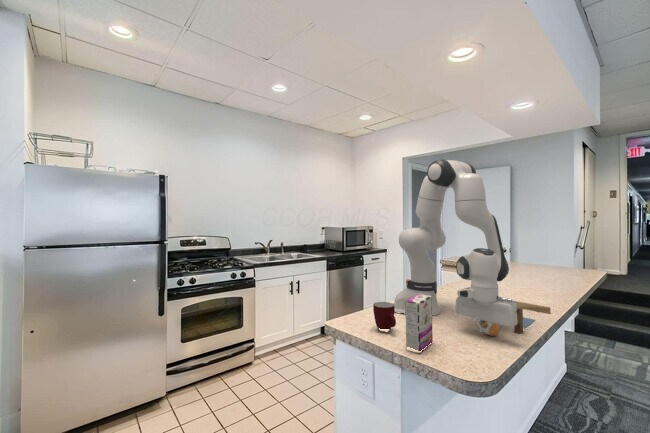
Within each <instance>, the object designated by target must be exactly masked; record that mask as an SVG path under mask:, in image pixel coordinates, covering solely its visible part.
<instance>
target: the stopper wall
mask: <svg viewBox="0 0 650 433" xmlns="http://www.w3.org/2000/svg"><path fill="white" fill-rule="evenodd" d="M514 301H515V302H516V304H517V307H521V308H523V310H528V311H533V312H538V313H543V314H549V315H550V314H551V306H546V305H539V304H533V303H528V302H522V301H517V300H514Z"/></svg>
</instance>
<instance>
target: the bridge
mask: <svg viewBox="0 0 650 433" xmlns="http://www.w3.org/2000/svg"><path fill="white" fill-rule="evenodd" d="M523 310H524V309H523V308H521V307H517V311H516V313H517V320H518V323H517V325H516V326H514V328H513V332H514V334H517V335H521V334H523V333H524V327H523V317H524V313H523V312H524V311H523ZM484 322H485V321H482V324H483V323H484Z"/></svg>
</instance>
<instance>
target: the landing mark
mask: <svg viewBox="0 0 650 433" xmlns="http://www.w3.org/2000/svg"><path fill="white" fill-rule="evenodd" d="M534 322H536V319H533V318H530V317H529V318H528V317H525V316H523V329H525V328H528V327H530V326H531V325H532V324H533V323H534Z"/></svg>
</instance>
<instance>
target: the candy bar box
mask: <svg viewBox="0 0 650 433" xmlns="http://www.w3.org/2000/svg"><path fill="white" fill-rule="evenodd" d="M404 315H405V341H406V343H405V344H406V346H407V347H410V348H413V349H415V350H418V351H421V350H422V349H424V348H425V347H426V346H428V345H429V344H430V343H432V342H433V343H434V341H433V315H432V302H431V296H428V295H422V294H418V295H416V296H414V297H412V298H410V299H408V300H406V301H405V314H404ZM433 343H432V344H433Z"/></svg>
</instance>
